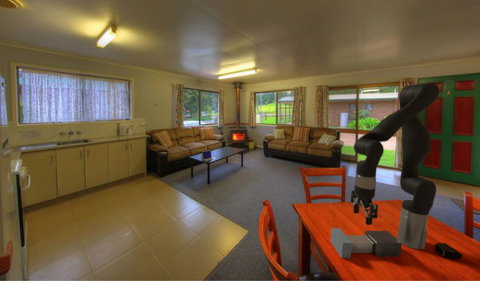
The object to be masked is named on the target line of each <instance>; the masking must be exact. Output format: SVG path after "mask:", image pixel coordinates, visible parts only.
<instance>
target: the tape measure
mask: <svg viewBox="0 0 480 281" xmlns="http://www.w3.org/2000/svg"><path fill="white" fill-rule="evenodd" d="M434 250H435V251H436V253H437V254H439V255H440V256H442V257H444V258H447V259H450V260H457V259H458V260H459V259H460V260H461V259H462V258H463V255H462V254H463V253H461V252H459V251H458V250H457V249H455V248H454V247H452V246H451V245H449V244H448V243H446V242H437V243H435V244H434Z"/></svg>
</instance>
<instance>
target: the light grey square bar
mask: <svg viewBox="0 0 480 281" xmlns="http://www.w3.org/2000/svg"><path fill="white" fill-rule="evenodd" d="M345 235H346V236H347V237H348V239H349V240H350V241H351V242H352V250H351V254H374V251H375V242H374V241H373V240H372V239H371V238H370V237H369V236H368V235H365V234H364V235H362V234H361V235H360V234H359V235H356V234H354V235H349V234H348V235H347V234H345Z"/></svg>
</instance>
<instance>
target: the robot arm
mask: <svg viewBox="0 0 480 281" xmlns="http://www.w3.org/2000/svg"><path fill="white" fill-rule="evenodd" d="M439 95H440V87H439V85H438V84H436V83H435V82H422V83H414V84H409V85H405V86H403V87H402V88H401V90H400V92H399V96H398V104H399V109H398V110H396V111H393V112H392V113H391V114H389V115H387V116H386V117H384V118H383V119H382V120H380V121H379V123H378V124H377V125H375V127H373V129H371V130H370V131H368V132H366V133H365V134H364V135H362V136H360V137H359V138H358V139H357V140H356V141H355V142H354V144H353V150H354V152H355V153H356V154H359V155H362V156H365V157H366V158H364V159H365V160H358V161H357V162H356V171H355V175H354V176H355V178H354V184H353V185H354V187H353V188H354V189H353V190H351V194H350V203H352V206H353V210H352V211H353V213H354V214H355V215H356V214H359V213H360V207H361V208H362V210H363V212H364V213H365V225H366V226H371V225H372V224H373V219H378V213H379V212H378V210H379V205H378V204H377V203H373V201H372V200H373V198H375V196H376V188H377V187H376V186H377V168H378V165H379V163H380V161H381V158H382V157H383V155H384V149H385V148H384V145H383V144H382V143H384V142H388V141H389V140H390V139H392V138H393V136H395V134H396V133H397V132H398V131H399V130H400V129H401V150H402V152H401V153H402V155H401V159H402V161H401V170H400V181H399V183H400V188H401V190H402V191H404V192H405V193H406V194H409V195H411V196H413V198H412V199H405V200H403V201H402V202H401V206H400V207H401V209H400V215H399V222H398V229H397V234H396V235H397V236H396V238H397V239H398V240H399V241H400V242H401V243H402V245H404V246H406V247H408V248H411V249H415V250H424V251H425V247H426V242H427V235H428V230H427V225H428V220H429V214H430V211H431V210H432V208H433V205H434V201H435V198H436V193H437V186H436V184H435V183H434V182H433V181H432V180H430V179H427V178H425V177H422V176H419V166H420V164H421V163H422V162H423V161H424V159H426V157H427V156H428V155H429V153H430V152H431V148H432V146H431V145H432V140H431V139H432V138H431V133H430V131H429V130H428V128H427V127H426V125H425V124H424V123H423V121H422V120H421V119H420V117H419V114H420V113H421V112H423V111H425V110H426V109H427V108H428V107H429V106H431V105H432V104H434V103H435V101H436V100H437V99H438V98H439Z"/></svg>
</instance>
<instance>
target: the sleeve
mask: <svg viewBox="0 0 480 281" xmlns="http://www.w3.org/2000/svg"><path fill="white" fill-rule="evenodd" d="M364 235H368V236H369V237H370V238H371V239H372V240H373V241H374V242H375V251H374V253H373V255H374V257H386V258H387V257H388V258H389V257H392V258H393V257H397V258H398V257H399V258H400V257H401V253H402V246H403V244H402V243H401V242H400V241H399V240H398V239H397V237H395V236H394V235H393V234H392V233H391V232H389V231H388V230H365V231H364Z"/></svg>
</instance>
